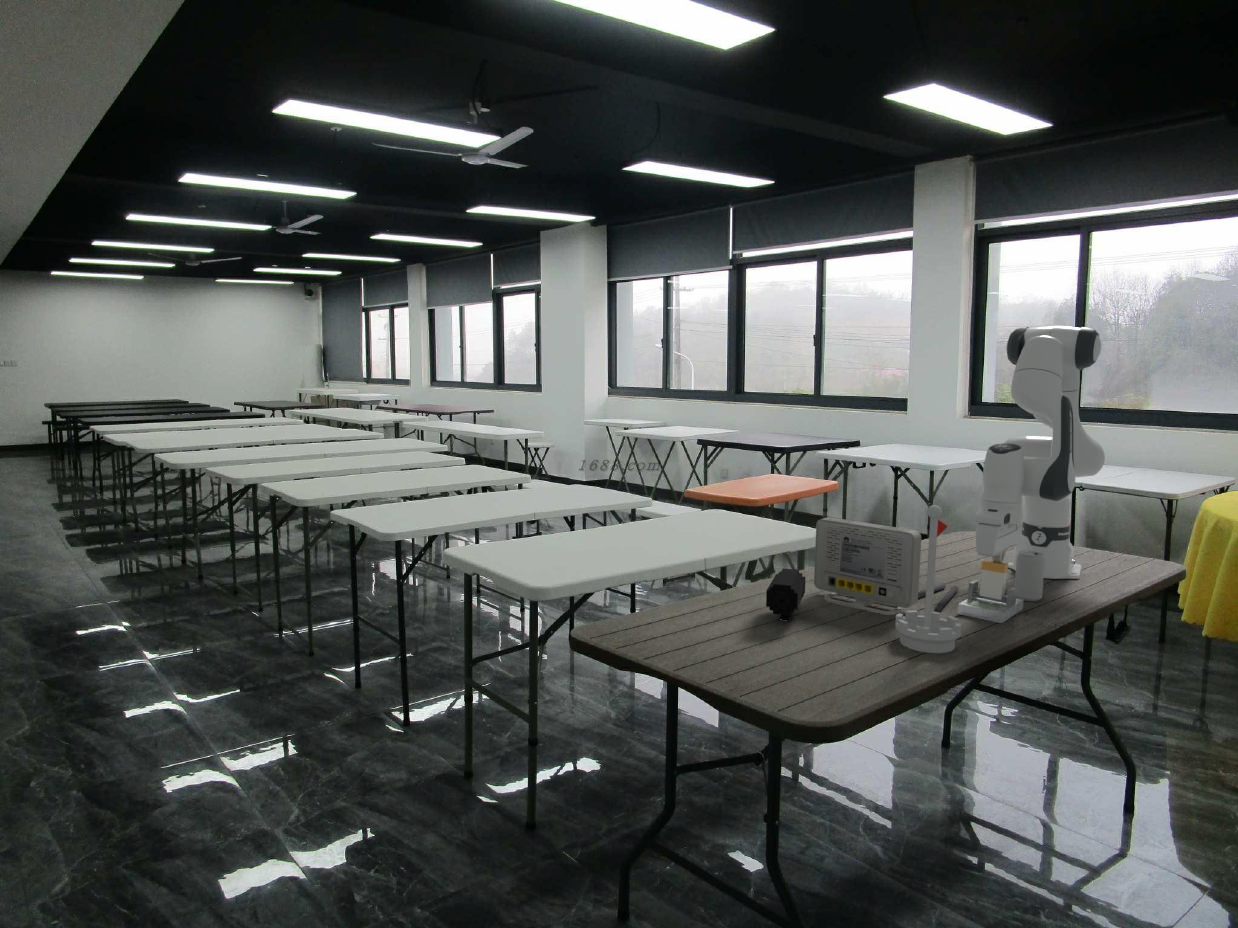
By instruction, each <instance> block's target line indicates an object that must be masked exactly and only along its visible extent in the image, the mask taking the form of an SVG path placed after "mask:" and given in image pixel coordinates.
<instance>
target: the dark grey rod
mask: <svg viewBox="0 0 1238 928" xmlns="http://www.w3.org/2000/svg"><path fill="white" fill-rule="evenodd" d="M958 590H959V587H958V586H957V585H954V586H952V587H951V588H950V590H949V591H948V592H947V593H946V594H945V595H944V596H943V598H941V600H939V602H938V603H937V605H935V607H933V612H938V613H941V612H940V611H941V610H943V609H944V607H945V606H946V604H947V603H949V601H950V600H951V599H952V598H953V596H954V595H955V594H956V593H957V592H958Z"/></svg>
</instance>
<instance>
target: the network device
mask: <svg viewBox="0 0 1238 928" xmlns="http://www.w3.org/2000/svg"><path fill="white" fill-rule="evenodd" d="M815 527H816V528H815V549H814V550H815V551H814V572H813V573H814V576H813V585H814V586H815V589H818V590H821V591H824V592H830V593H828V594H826V595H824V596H823V597H824V598H823V599H824V601H825V600H826V601H825V602H827V601H829V602H828V603H831V602H832V604H835V603H836V605H839V604H842V605H841V606H843V607H844V606H845V607H848V606H849V608H852V607H855V608H854V609H858V610H861V609H862V610H861V611H865V610H867V611H866V612H870V613H874V612H875V613H876V614H878V613H880V614H879V615H884V616H893V615H894V616H896V615H897V613H899V612H900V613H902V612H903V611H904V609H908V608H910V607H913V606H914V605H916V604H917V603H918V600H919V598H918V592H919V590H920V589H919V586H920V570H921V569H920V568H921V553H922V552H921V549H922V534H921V533H920V532H919V531H918V530H915V529H908V528H902V527H895V526H889V525H881V524H876V523H875V524H874V523H869V522H863V521H858V520H857V521H856V520H850V519H842V518H836V517H831V516H828V517H825V518H821V519H818V520H817V521H816V526H815ZM836 595H838V596H843V595H846V596H845V597H848V598H852V597H853V598H852V599H855V601H853V602H847V601H843V600H842V601H841V600H838V599H833V598H835V597H837V596H836ZM834 596H835V597H834ZM832 597H833V598H832ZM829 598H830V599H829ZM872 604H879V605H885V606H888V607H893V608H894V609H892V610H881V609H878V608H873V607H869V606H870V605H872ZM865 606H866V607H865Z"/></svg>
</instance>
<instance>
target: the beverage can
mask: <svg viewBox="0 0 1238 928" xmlns="http://www.w3.org/2000/svg"><path fill="white" fill-rule="evenodd" d="M1044 564H1045V558H1044V557H1043V553H1041V552H1037V551H1029V550H1022V551H1019V554H1018V555H1017V559H1016V571H1015V572H1014V573H1015V576H1014V587H1015V588H1017V590H1016V598H1020V599H1024V601H1023V602H1025V601H1026V602H1038V601H1040V600H1041V599H1042V598H1043V590H1044V589H1043V588H1044V579H1045V578H1044Z"/></svg>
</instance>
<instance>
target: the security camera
mask: <svg viewBox="0 0 1238 928" xmlns="http://www.w3.org/2000/svg"><path fill="white" fill-rule="evenodd" d="M805 594H806V576H803V573H802V572H800V569H796V568H795V569H793V568H792V569H791V568H782V569H781V570H780V571H779V572H778V573H776V574H775V576H774V577H773V579H772V580H771V582H770V584H769V585H768V587H767V588H766V595H765V596H766V597H765V598H766V599H765V600H766V601H765V607H767V608H769V611H771V612H772V615H779V619H782V620H787V621H786V622H790V621H791V619H792V617H793V614H794V613H795V611H797V610H798V609H799V607H800V605H801V602H802V600H803V598H804V595H805ZM791 616H792V617H791ZM790 618H791V619H790ZM779 619H778V620H779Z"/></svg>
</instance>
